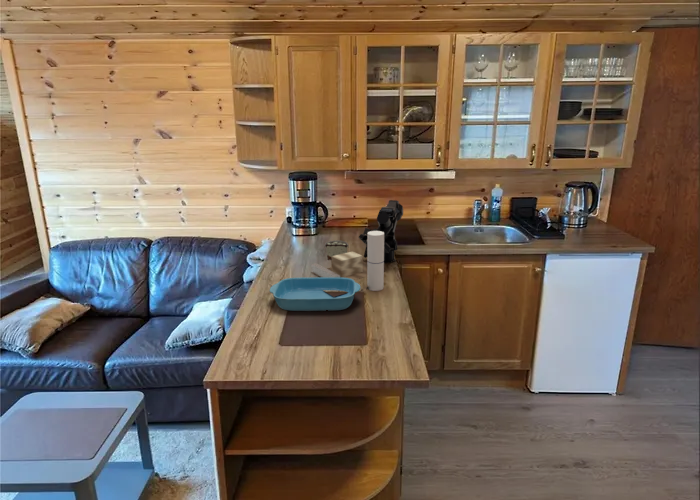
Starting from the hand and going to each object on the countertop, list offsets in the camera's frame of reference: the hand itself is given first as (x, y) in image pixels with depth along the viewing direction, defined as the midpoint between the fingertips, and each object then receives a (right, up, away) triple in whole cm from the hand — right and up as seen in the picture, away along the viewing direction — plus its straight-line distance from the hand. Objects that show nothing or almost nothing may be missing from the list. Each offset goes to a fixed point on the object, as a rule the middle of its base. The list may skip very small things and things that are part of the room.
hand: (364, 257), depth 225 cm
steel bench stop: (-18, -9, -11) cm, 23 cm away
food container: (-13, -2, +17) cm, 21 cm away
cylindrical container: (+4, -13, -18) cm, 23 cm away
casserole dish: (-21, -18, -32) cm, 42 cm away
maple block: (-8, -7, -4) cm, 11 cm away
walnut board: (-8, -8, -3) cm, 12 cm away
